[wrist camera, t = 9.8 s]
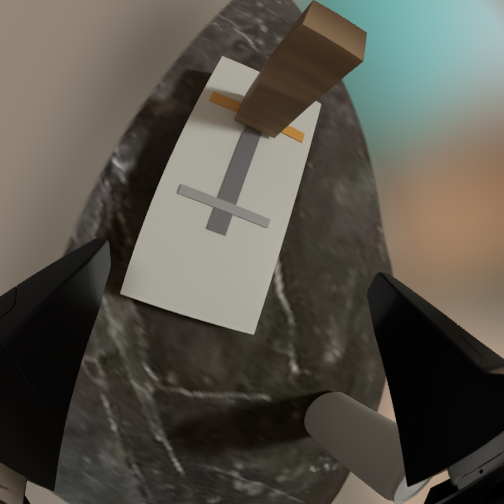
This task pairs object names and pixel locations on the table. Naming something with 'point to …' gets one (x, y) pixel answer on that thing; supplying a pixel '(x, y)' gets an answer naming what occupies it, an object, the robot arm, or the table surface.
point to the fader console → (220, 209)
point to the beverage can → (362, 443)
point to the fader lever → (302, 69)
